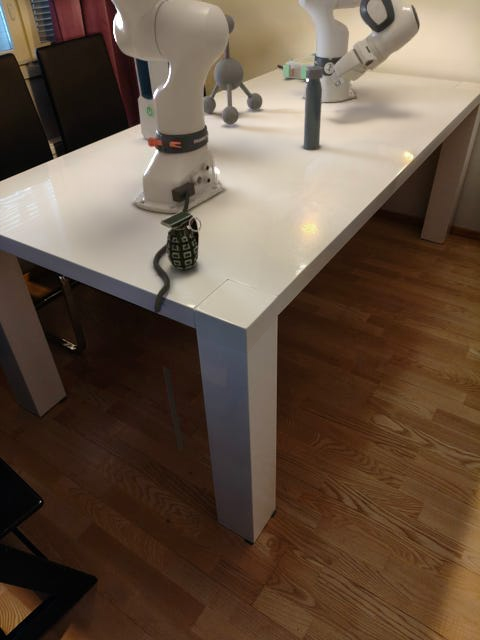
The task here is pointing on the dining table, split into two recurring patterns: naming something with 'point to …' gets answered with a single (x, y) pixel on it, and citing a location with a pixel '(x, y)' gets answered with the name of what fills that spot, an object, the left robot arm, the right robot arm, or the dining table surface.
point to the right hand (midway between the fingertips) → (331, 84)
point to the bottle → (312, 114)
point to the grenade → (182, 240)
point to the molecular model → (230, 84)
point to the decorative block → (298, 67)
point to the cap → (314, 72)
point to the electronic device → (149, 92)
